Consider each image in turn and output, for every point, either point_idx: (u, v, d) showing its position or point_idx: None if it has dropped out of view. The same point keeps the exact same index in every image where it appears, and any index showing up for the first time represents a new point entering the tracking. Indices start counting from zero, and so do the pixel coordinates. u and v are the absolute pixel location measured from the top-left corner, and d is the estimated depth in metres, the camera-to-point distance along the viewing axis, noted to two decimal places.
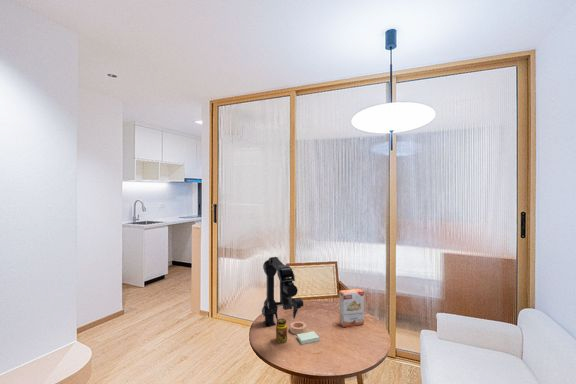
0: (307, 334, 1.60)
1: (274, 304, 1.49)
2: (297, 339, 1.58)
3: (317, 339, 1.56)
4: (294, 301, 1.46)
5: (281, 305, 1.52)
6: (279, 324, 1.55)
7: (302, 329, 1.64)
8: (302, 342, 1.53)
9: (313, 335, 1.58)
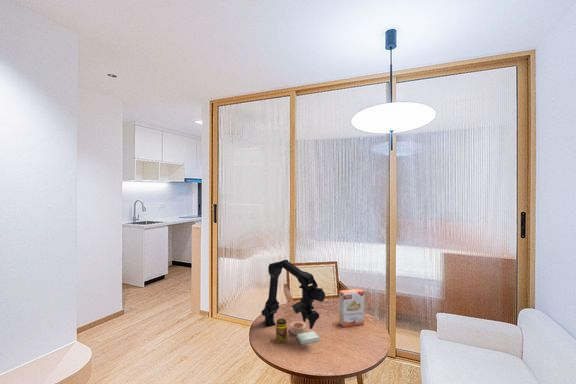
0: (307, 334, 1.60)
1: None
2: (297, 339, 1.58)
3: (317, 339, 1.56)
4: (297, 307, 1.52)
5: None
6: (279, 324, 1.55)
7: (302, 329, 1.64)
8: (302, 342, 1.53)
9: (313, 335, 1.58)
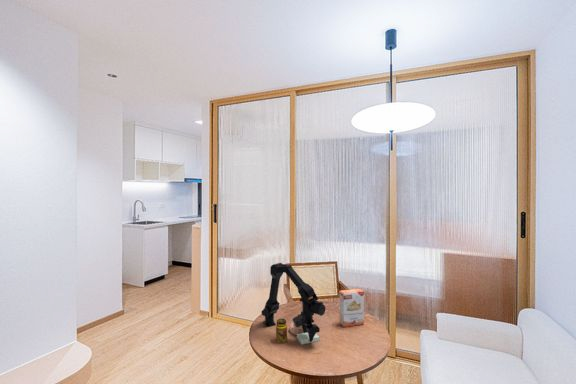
0: (307, 334, 1.60)
1: None
2: (297, 339, 1.58)
3: (317, 339, 1.56)
4: (297, 321, 1.52)
5: None
6: (279, 324, 1.55)
7: (302, 329, 1.64)
8: (302, 342, 1.53)
9: None
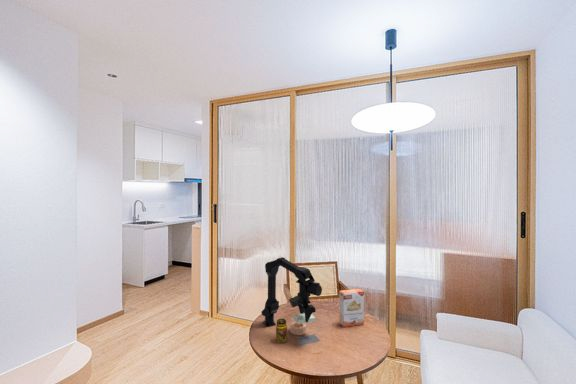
0: (303, 315, 1.63)
1: None
2: (297, 339, 1.58)
3: (313, 320, 1.59)
4: (294, 301, 1.55)
5: None
6: (279, 324, 1.55)
7: (302, 329, 1.64)
8: (298, 322, 1.56)
9: None
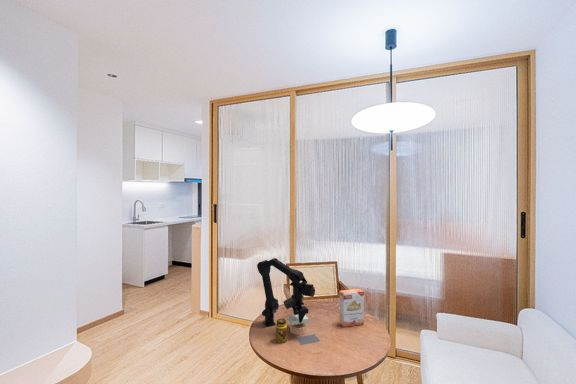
0: (297, 316, 1.69)
1: None
2: (297, 339, 1.58)
3: (306, 320, 1.66)
4: (287, 303, 1.62)
5: None
6: (279, 324, 1.55)
7: (302, 329, 1.64)
8: (292, 323, 1.63)
9: None
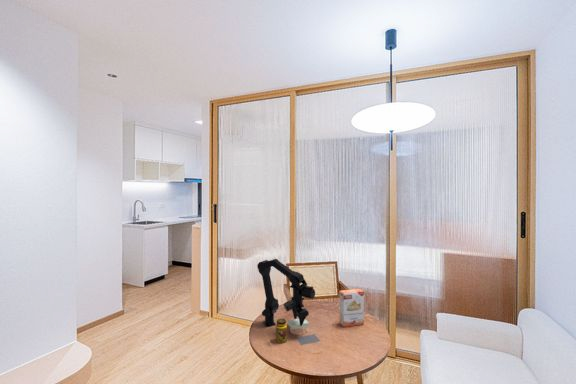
0: (297, 320, 1.69)
1: None
2: (297, 339, 1.58)
3: (307, 324, 1.66)
4: (288, 305, 1.62)
5: None
6: (279, 324, 1.55)
7: (302, 329, 1.64)
8: (292, 327, 1.63)
9: None
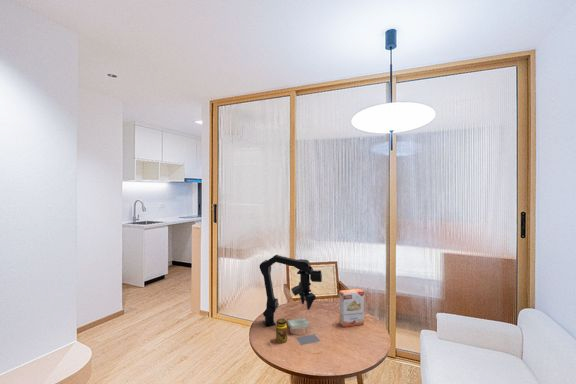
0: (297, 320, 1.69)
1: None
2: (297, 339, 1.58)
3: (307, 324, 1.66)
4: (295, 290, 1.68)
5: None
6: (279, 324, 1.55)
7: (302, 329, 1.64)
8: (292, 327, 1.63)
9: (303, 321, 1.68)
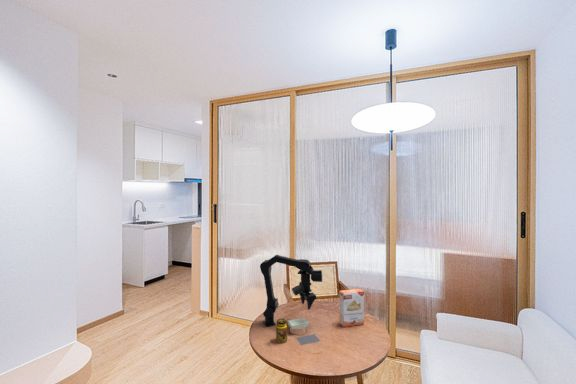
0: (297, 320, 1.69)
1: None
2: (297, 339, 1.58)
3: (307, 324, 1.66)
4: (296, 290, 1.69)
5: None
6: (279, 324, 1.55)
7: (302, 329, 1.64)
8: (292, 327, 1.63)
9: (303, 321, 1.68)
